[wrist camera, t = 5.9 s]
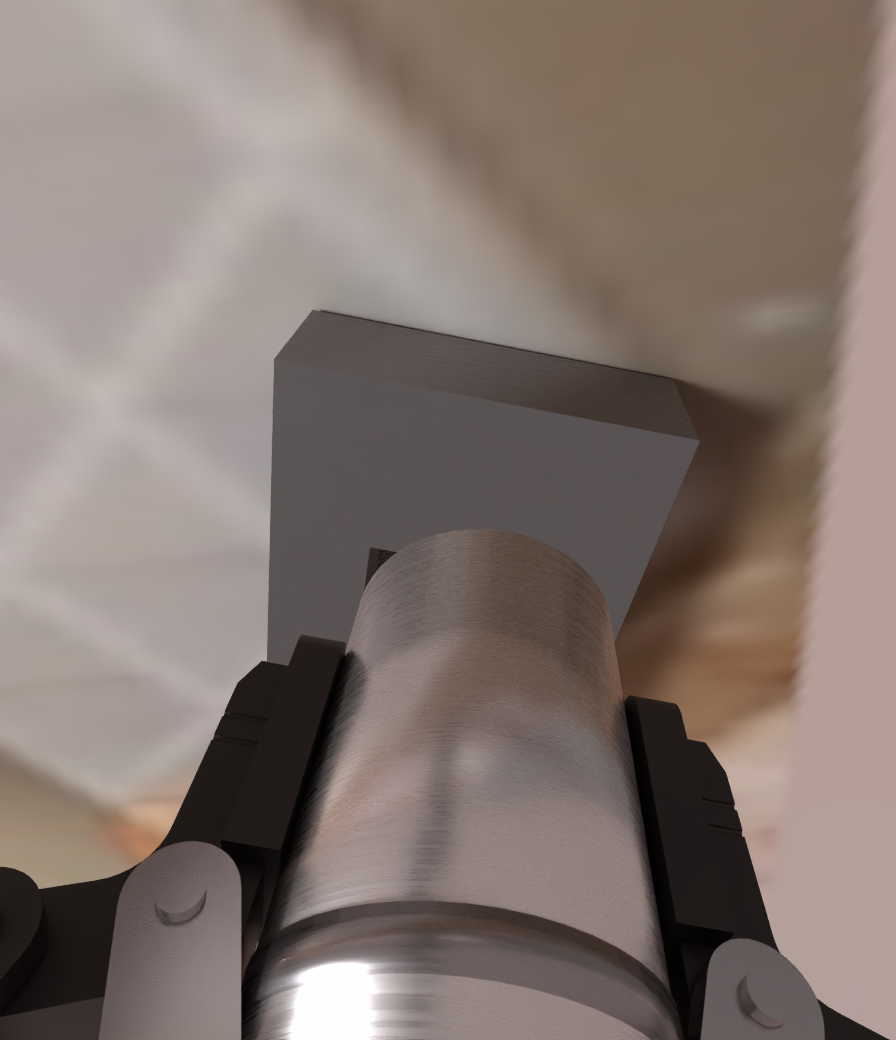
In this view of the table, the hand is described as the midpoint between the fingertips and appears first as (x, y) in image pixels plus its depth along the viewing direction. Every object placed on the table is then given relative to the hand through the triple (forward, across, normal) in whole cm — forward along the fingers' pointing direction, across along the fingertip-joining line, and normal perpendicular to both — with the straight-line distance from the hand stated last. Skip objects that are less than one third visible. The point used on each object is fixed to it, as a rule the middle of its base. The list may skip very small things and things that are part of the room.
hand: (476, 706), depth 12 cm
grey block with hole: (+18, 0, +10) cm, 21 cm away
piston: (+2, 0, 0) cm, 2 cm away
